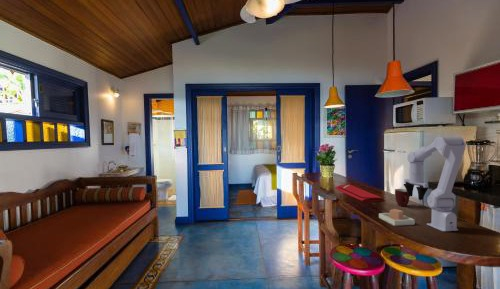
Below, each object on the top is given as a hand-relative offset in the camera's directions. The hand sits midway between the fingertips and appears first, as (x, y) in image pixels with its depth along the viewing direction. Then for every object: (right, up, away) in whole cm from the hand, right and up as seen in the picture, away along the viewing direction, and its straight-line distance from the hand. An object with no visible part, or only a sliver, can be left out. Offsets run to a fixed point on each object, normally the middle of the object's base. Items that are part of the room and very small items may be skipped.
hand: (415, 197), depth 140 cm
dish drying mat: (-12, -8, +49) cm, 52 cm away
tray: (-17, -10, -10) cm, 22 cm away
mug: (+3, -9, +16) cm, 18 cm away
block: (-17, -9, -10) cm, 21 cm away
